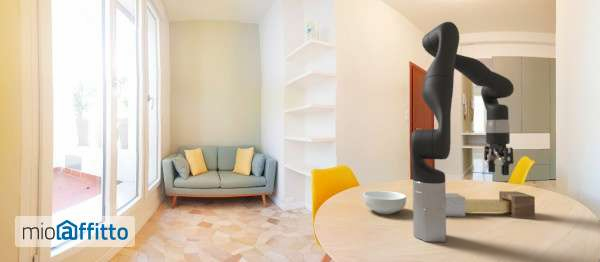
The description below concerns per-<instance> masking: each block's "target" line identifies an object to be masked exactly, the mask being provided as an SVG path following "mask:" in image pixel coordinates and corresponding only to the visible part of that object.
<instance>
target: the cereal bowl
mask: <svg viewBox="0 0 600 262" xmlns="http://www.w3.org/2000/svg"><path fill="white" fill-rule="evenodd" d="M363 202H364V204H365V205H366V206H367V208H369V209H370V210H373V211H374V212H375V213H376V212H377V213H376V214H381V215H392V214H394V213H396V212H399V211H401V210H403V209H404V208H405V206H406V203H407V196H406V195H405V194H404V193H401V192H396V191H388V190H387V191H386V190H370V191H365V192H363Z"/></svg>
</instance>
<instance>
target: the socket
mask: <svg viewBox="0 0 600 262" xmlns="http://www.w3.org/2000/svg"><path fill="white" fill-rule="evenodd" d="M498 195H499V198H498V200H511V208H512V213H504V214H505V215H507V216H510V217H512V218H514V219H535V218H536V213H535V212H536V210H535V209H536V208H535V207H536V206H535V205H536V202H535V200H536V199H535V196H533V195H530V194H527V193H524V192H520V191H517V190H515V191H509V190H508V191H507V190H505V191H503V190H502V191H500V190H499V191H498Z"/></svg>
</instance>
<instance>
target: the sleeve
mask: <svg viewBox="0 0 600 262" xmlns="http://www.w3.org/2000/svg"><path fill="white" fill-rule="evenodd" d="M445 194H446V217H461V218H462V217H464V218H465V217H466V216H467V215H466V212H465V199H466V196H463V195H461V194H459V193H456V192H455V193H453V192H451V193H450V192H449V193H448V192H445Z"/></svg>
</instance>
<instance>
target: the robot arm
mask: <svg viewBox="0 0 600 262" xmlns="http://www.w3.org/2000/svg"><path fill="white" fill-rule="evenodd" d="M459 43H460V32H459V28H458V27H457V25H456V24H455V23H454V22H451V21H444V22H442V23H441V24H438V25H437V26H435V27H434V28H433V29H431V30H429V31H428V32H427V33H426V34H424V36H423V37H422V40H421V44H422V47H423V49H424V51H426V53H428V55H430V56H432V57H433V58H434V59H433V60H432V62H431V64H430V65H429V67H428V69H427V71H426V73H425V75H424V76H423V81H422V90H421V97H422V99H423V101H424V103H425V104H426V106H427V107H428V108H429V110H430V111H431V112H432V113H433V115H434V117H435V119H436V121H437V124H438V127H437V128H434V129H430V128H429V129H428V128H427V129H424V128H423V129H415V130H413V131H412V132H411V136H410V151H411V152H410V153H411V155H410V156H411V172H412V209H413V210H412V213H413V214H412V216H413V217H412V219H413V221H412V222H413V226H412V227H413V228H412V229H413V230H412V231H413V236H414V237H415V238H417V239H418V240H419V239H420V240H423V242H431V243H432V242H433V243H434V242H435V243H437V242H438V243H446V242H447V216H446V194H445V193H447V192H446V173H445V172H444V171H442V170H440V169H437V168H434V167H432V166H431V165H430V164H428V163H427V162H426V160H446V159H448V158H449V156H450V151H451V145H452V144H451V143H452V141H451V137H452V135H451V122H452V121H451V115H452V114H451V112H452V104H453V96H454V95H453V94H454V83H455V82H454V81H455V80H454V78H455V70H456V71H457V72H458V73H460V74H461V75H463V76H465V78H466V79H468V80H469V81H470V82H472V83H473V84H474V85H476V86H477V87H481V89H480V95H481V98H482V102H483V104H484V108H485V110H486V113H485V115H486V117H485V118H486V123H485V143H486V144H488V145H485V146H484V152H483V153H484V158H483V159H484V161H486V162H487V169H488V170H487V171H488V172H489V173H495V171H496V159H497V160H498V161H499V162H500V164H501V173H500V174H501V175H502V176H509V175H510V165H513V164H514V149H513V147H507V145H509V144H510V143H511V139H510V135H511V134H510V119H509V117H510V116H509V106H508V105H506V104H501V103H499V99H505V98H508V97H510V96H511V95H513V93H514V90H515V87H514V84H513V82H512V81H511V80H510V79H509V78H507V77H505V76H504V75H501V74H500V73H497V72H494V71H492V70H491V69H490V68H489V67H488V66H486V64H485V63H484V62H483V61H480V60H478V59H476V58H474V57H470V56H466V55H461V54H458V49H459Z"/></svg>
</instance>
